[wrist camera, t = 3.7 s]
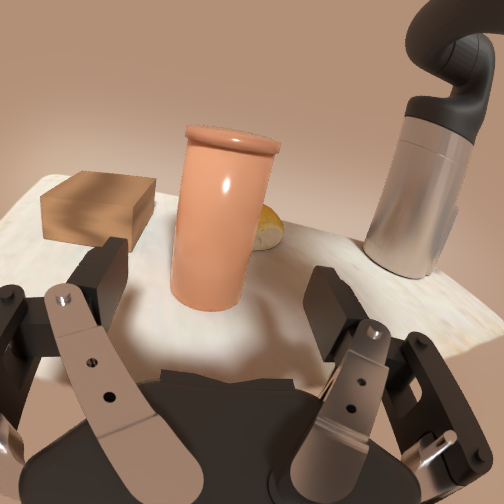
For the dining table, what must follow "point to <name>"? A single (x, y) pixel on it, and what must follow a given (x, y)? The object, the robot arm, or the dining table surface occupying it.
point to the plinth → (98, 208)
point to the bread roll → (268, 230)
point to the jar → (218, 214)
